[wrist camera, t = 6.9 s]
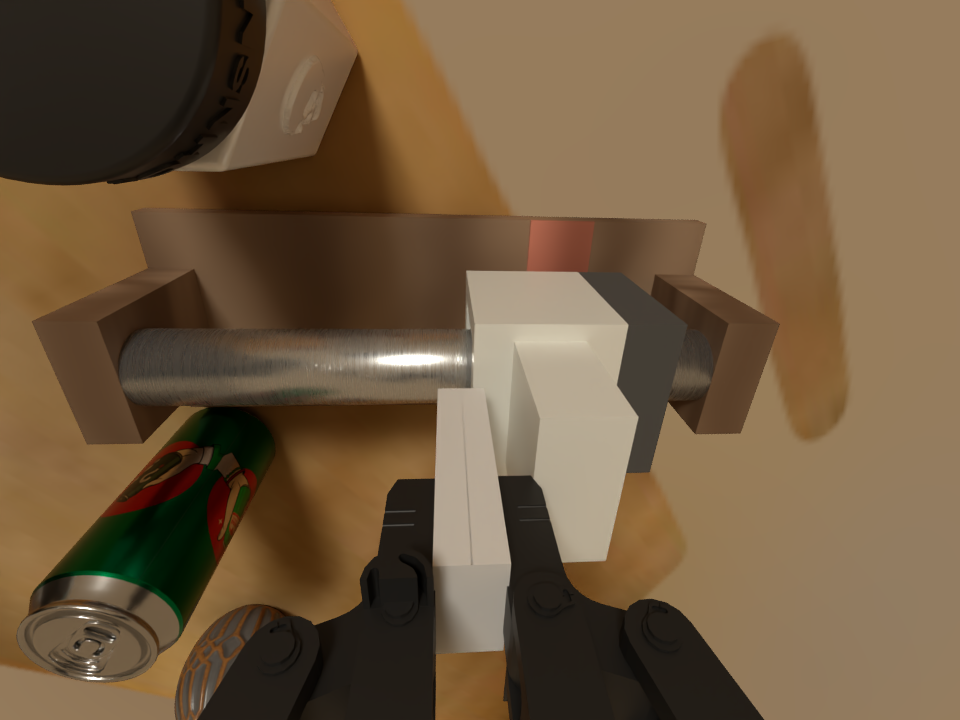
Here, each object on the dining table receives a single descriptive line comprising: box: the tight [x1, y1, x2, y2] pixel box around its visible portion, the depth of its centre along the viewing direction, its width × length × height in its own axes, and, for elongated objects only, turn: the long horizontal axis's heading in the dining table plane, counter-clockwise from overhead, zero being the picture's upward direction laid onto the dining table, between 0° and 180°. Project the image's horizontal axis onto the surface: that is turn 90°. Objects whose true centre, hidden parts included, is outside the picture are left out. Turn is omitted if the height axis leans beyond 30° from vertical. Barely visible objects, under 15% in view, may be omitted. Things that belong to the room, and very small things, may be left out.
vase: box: [175, 604, 285, 720], centre depth 30 cm, size 7×7×9 cm
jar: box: [0, 0, 358, 185], centre depth 13 cm, size 9×8×12 cm
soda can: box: [17, 407, 275, 683], centre depth 21 cm, size 5×5×12 cm
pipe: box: [118, 328, 713, 406], centre depth 18 cm, size 24×3×3 cm, turn 88°
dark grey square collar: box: [578, 272, 688, 473], centre depth 19 cm, size 2×6×6 cm, turn 178°
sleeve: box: [465, 271, 639, 563], centre depth 17 cm, size 5×6×11 cm
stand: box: [32, 208, 780, 444], centre depth 20 cm, size 26×10×8 cm, turn 88°
